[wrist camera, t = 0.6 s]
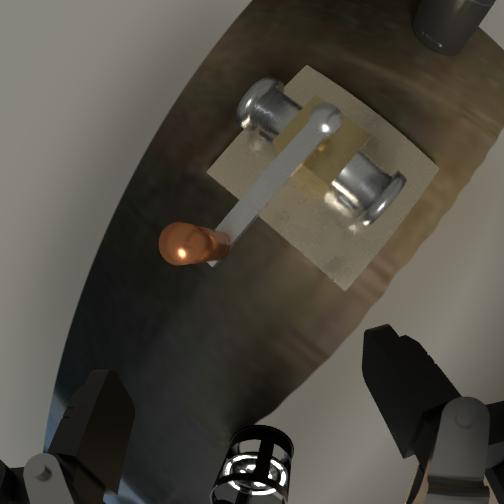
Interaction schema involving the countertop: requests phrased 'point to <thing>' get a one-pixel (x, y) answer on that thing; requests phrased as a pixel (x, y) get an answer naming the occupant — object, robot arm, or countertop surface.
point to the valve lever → (249, 197)
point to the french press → (256, 465)
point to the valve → (326, 173)
